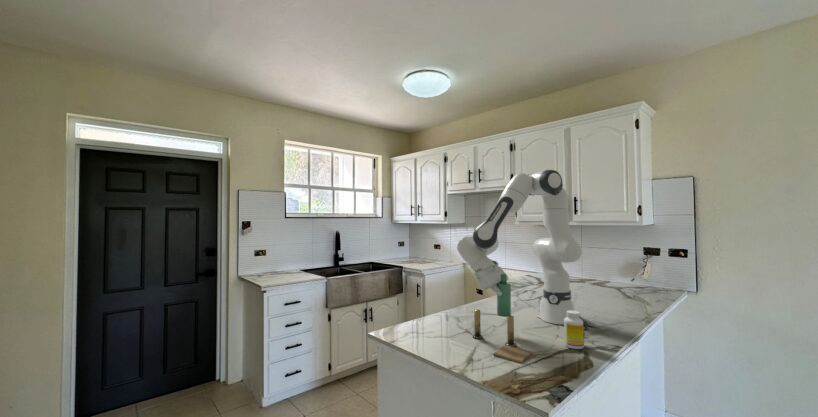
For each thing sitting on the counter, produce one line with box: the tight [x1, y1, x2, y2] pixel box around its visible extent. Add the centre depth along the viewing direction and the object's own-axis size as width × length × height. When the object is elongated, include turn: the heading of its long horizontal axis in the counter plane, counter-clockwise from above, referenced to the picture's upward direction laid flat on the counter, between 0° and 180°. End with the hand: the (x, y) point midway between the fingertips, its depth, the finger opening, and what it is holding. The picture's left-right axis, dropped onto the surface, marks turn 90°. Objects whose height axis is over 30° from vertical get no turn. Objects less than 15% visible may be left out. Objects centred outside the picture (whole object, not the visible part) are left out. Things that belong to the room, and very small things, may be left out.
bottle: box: [496, 273, 512, 318], centre depth 139 cm, size 6×6×17 cm
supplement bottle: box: [563, 310, 585, 350], centre depth 125 cm, size 7×7×13 cm
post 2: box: [504, 314, 517, 348], centre depth 126 cm, size 4×4×11 cm
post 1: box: [472, 308, 483, 340], centre depth 135 cm, size 4×4×11 cm
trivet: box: [493, 345, 533, 364], centre depth 117 cm, size 10×10×1 cm
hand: (505, 293), depth 139 cm, fingers closed on bottle, 6 cm apart
